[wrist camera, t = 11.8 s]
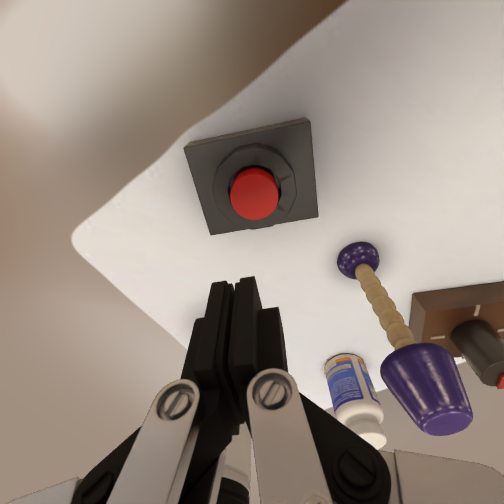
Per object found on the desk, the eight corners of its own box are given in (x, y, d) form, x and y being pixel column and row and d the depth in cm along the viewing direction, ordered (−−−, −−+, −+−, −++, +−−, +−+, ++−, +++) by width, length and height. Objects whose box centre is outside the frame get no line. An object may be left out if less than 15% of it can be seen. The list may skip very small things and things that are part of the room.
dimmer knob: (453, 322, 30) (487, 365, 26) (494, 317, 30) (536, 360, 25) (448, 347, 32) (478, 391, 28) (486, 343, 32) (523, 387, 27)
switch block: (306, 117, 23) (314, 124, 20) (314, 207, 27) (322, 226, 24) (188, 142, 24) (177, 152, 21) (213, 225, 28) (207, 245, 25)
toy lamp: (390, 253, 30) (512, 415, 15) (363, 285, 32) (446, 452, 18) (352, 235, 29) (444, 390, 14) (326, 269, 31) (384, 433, 17)
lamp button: (273, 163, 22) (274, 169, 20) (280, 206, 23) (281, 215, 22) (227, 172, 22) (224, 179, 21) (237, 214, 24) (236, 223, 22)
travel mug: (220, 299, 33) (179, 530, 16) (264, 325, 35) (268, 554, 18) (192, 329, 36) (131, 554, 19) (234, 351, 38) (214, 573, 21)
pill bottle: (318, 374, 40) (334, 451, 32) (332, 349, 37) (353, 427, 29) (354, 380, 41) (379, 458, 32) (371, 356, 38) (402, 434, 30)
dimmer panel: (509, 279, 31) (532, 299, 28) (491, 332, 35) (511, 353, 33) (412, 292, 32) (426, 312, 30) (407, 342, 36) (418, 363, 34)
